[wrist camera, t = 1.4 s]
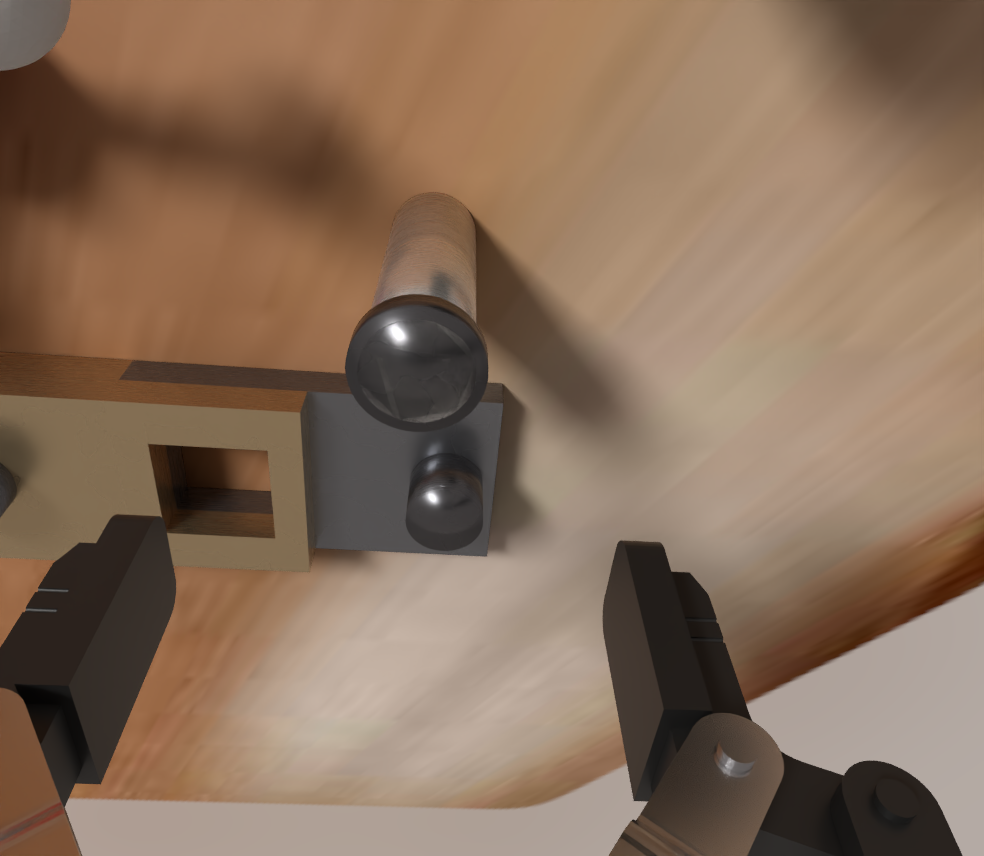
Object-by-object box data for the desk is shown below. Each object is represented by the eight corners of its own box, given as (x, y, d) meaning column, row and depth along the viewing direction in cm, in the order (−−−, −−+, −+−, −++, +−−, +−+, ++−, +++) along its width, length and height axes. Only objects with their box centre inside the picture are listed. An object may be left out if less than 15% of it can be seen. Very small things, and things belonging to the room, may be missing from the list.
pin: (487, 187, 27) (494, 312, 19) (480, 284, 29) (482, 435, 21) (383, 179, 27) (343, 302, 19) (383, 277, 29) (346, 427, 21)
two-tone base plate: (502, 383, 32) (506, 456, 28) (486, 534, 36) (487, 616, 32) (-67, 347, 30) (-153, 418, 26) (-11, 508, 35) (-77, 590, 31)
